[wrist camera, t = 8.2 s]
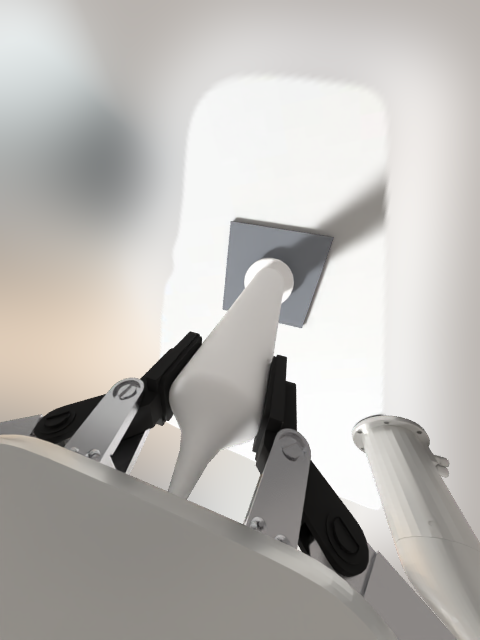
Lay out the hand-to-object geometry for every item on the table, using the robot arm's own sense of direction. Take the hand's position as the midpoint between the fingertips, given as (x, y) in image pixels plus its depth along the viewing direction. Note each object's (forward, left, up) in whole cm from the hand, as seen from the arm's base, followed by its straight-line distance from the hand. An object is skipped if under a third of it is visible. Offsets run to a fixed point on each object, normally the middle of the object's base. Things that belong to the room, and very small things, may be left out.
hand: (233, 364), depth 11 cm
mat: (0, 0, -21) cm, 21 cm away
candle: (0, 0, -19) cm, 19 cm away
